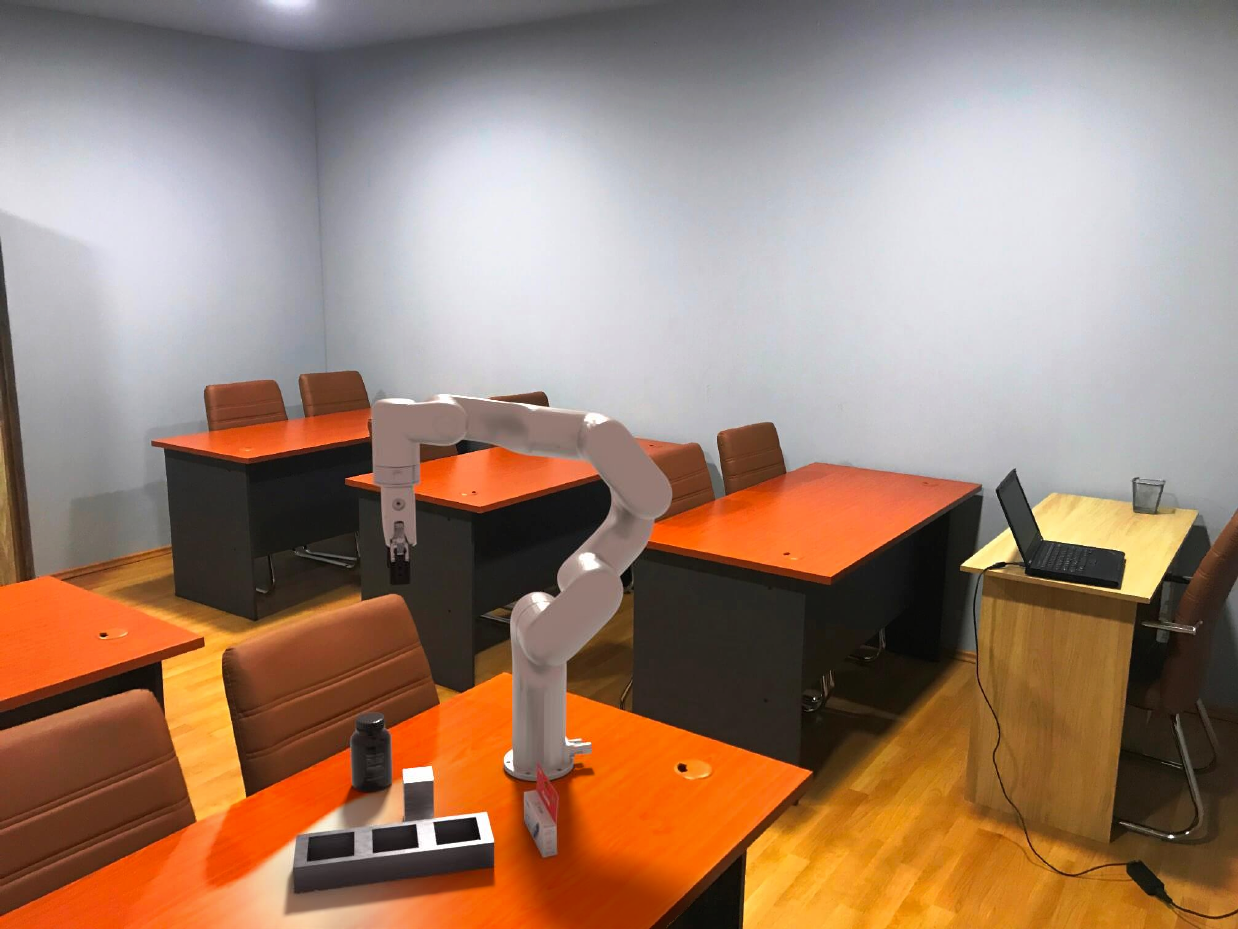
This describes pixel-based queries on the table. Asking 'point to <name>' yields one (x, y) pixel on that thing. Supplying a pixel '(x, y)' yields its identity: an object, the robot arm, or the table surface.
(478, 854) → the dark grey compartment tray
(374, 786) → the supplement bottle
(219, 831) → the table surface
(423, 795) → the light grey block
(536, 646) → the robot arm
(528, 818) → the ink cartridge box
